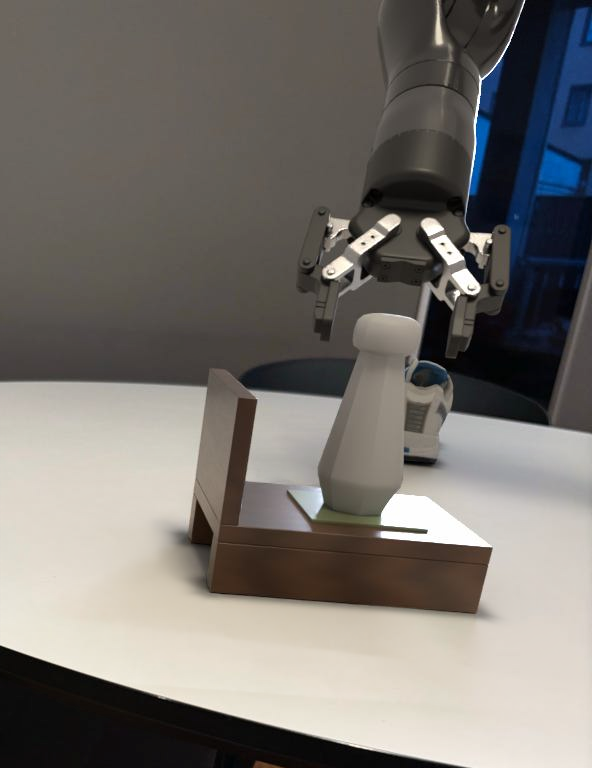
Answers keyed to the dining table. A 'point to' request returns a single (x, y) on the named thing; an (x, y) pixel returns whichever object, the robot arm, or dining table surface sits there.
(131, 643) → the dining table surface
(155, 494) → the dining table surface
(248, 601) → the dining table surface
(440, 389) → the athletic shoe
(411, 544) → the l-shaped wooden stand
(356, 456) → the salt shaker
